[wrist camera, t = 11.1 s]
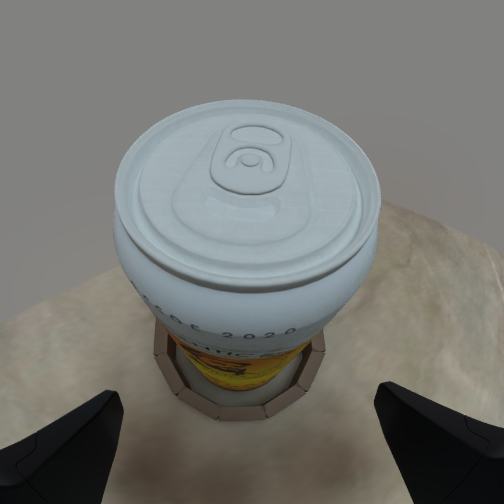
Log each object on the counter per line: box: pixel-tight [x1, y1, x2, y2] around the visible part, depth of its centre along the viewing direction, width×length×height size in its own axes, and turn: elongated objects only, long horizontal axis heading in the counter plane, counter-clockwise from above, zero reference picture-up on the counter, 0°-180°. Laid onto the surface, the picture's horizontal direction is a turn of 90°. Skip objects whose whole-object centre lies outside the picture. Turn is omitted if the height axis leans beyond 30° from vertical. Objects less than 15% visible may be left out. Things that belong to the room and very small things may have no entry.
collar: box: [154, 318, 326, 421], centre depth 17 cm, size 10×10×2 cm
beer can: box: [113, 100, 381, 391], centre depth 12 cm, size 6×6×15 cm
